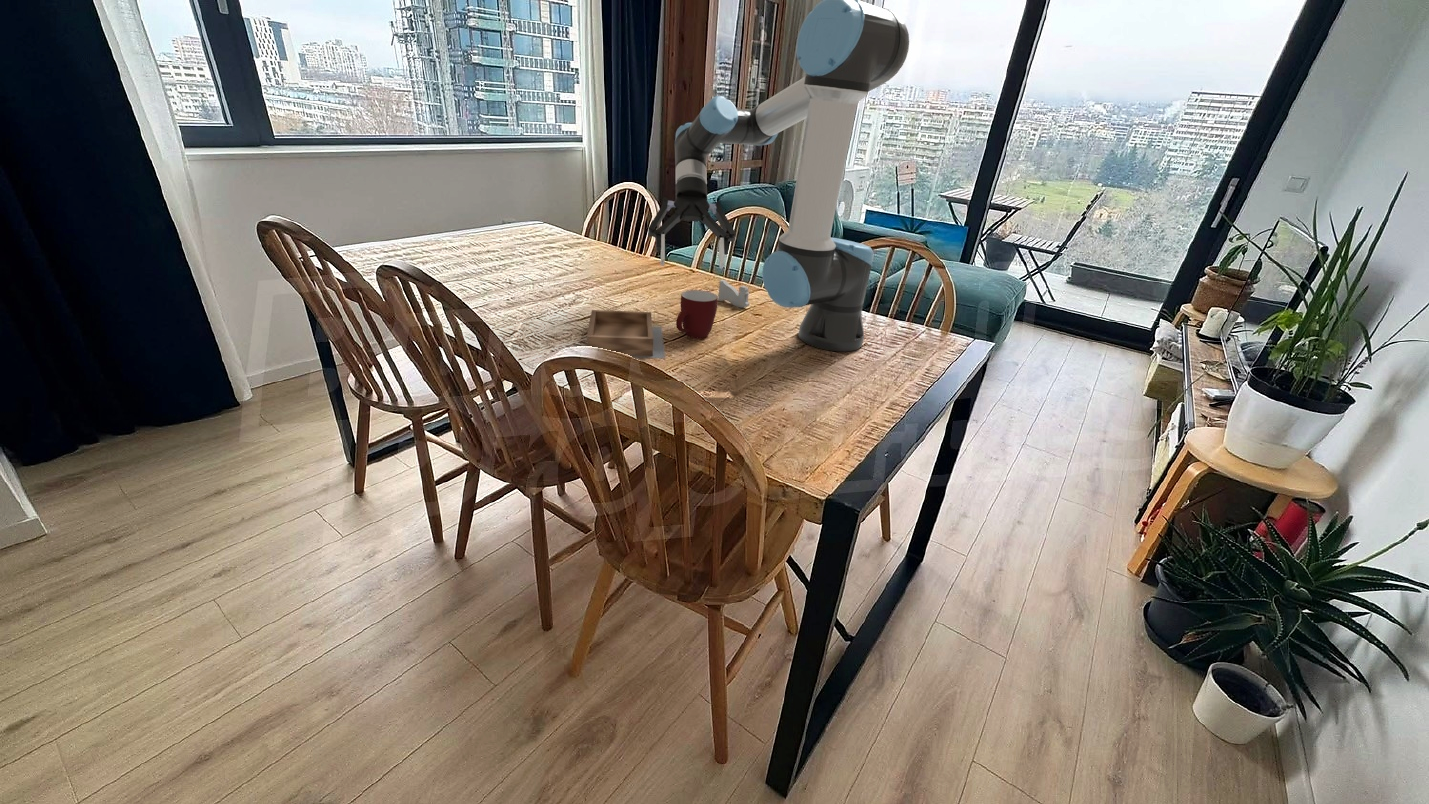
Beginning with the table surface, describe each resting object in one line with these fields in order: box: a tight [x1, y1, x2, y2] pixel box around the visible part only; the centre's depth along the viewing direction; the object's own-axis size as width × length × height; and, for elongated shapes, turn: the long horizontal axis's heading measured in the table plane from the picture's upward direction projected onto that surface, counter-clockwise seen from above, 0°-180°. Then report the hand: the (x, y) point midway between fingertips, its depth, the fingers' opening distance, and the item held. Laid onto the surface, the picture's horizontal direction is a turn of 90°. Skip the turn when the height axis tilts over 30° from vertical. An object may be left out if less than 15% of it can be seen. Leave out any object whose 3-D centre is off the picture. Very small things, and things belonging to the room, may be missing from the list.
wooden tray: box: [586, 309, 653, 356], centre depth 121 cm, size 13×16×4 cm
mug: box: [675, 289, 719, 340], centre depth 126 cm, size 11×8×10 cm
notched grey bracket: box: [717, 279, 751, 309], centre depth 152 cm, size 6×1×10 cm
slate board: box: [585, 325, 666, 360], centre depth 122 cm, size 16×18×1 cm
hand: (692, 264), depth 130 cm, fingers open, 13 cm apart
